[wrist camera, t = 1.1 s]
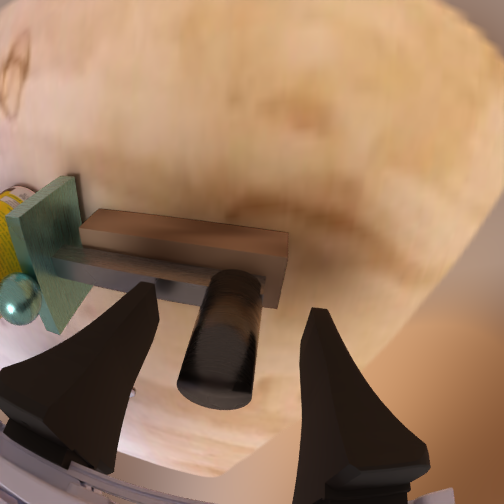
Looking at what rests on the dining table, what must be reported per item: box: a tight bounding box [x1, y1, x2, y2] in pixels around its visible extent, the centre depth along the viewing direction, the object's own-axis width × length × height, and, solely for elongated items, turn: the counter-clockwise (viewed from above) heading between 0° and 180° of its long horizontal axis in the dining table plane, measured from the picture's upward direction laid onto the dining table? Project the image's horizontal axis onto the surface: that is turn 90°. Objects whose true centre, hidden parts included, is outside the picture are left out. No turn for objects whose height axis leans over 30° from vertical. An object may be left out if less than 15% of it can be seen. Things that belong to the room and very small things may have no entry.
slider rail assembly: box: [0, 176, 266, 410], centre depth 12 cm, size 12×7×8 cm, turn 84°
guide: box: [79, 209, 288, 309], centre depth 15 cm, size 10×3×2 cm, turn 84°
